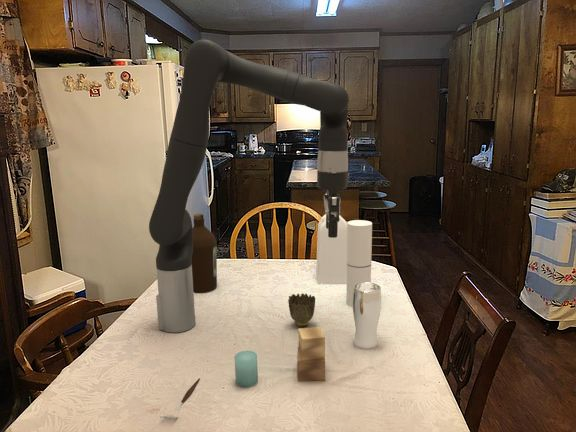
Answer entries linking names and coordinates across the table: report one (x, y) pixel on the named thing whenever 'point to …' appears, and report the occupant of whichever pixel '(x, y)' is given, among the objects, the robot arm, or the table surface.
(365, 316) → the beer glass
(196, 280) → the olive oil
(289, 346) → the table surface
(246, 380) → the cylinder
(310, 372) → the base block
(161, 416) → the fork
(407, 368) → the table surface
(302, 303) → the cup
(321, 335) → the top block
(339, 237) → the milk
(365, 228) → the cylindrical container
